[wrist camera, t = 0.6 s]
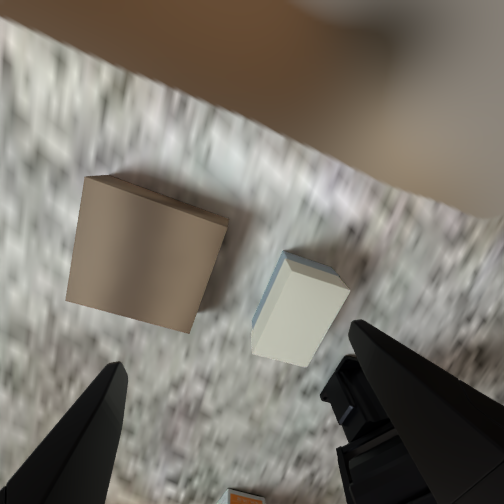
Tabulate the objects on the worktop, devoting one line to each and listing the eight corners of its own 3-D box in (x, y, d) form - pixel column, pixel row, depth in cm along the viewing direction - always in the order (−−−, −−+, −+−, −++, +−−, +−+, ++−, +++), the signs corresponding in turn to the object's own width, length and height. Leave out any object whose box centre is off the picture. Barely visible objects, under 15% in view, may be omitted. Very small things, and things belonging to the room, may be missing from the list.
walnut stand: (228, 218, 20) (227, 227, 18) (194, 313, 23) (189, 333, 21) (107, 174, 19) (84, 176, 16) (87, 283, 22) (65, 300, 19)
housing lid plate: (337, 276, 21) (350, 290, 18) (299, 347, 23) (306, 367, 21) (284, 258, 20) (291, 270, 17) (250, 334, 22) (252, 354, 20)
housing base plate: (329, 265, 23) (340, 276, 21) (295, 330, 25) (301, 347, 23) (282, 249, 22) (287, 259, 20) (251, 318, 25) (253, 334, 22)
